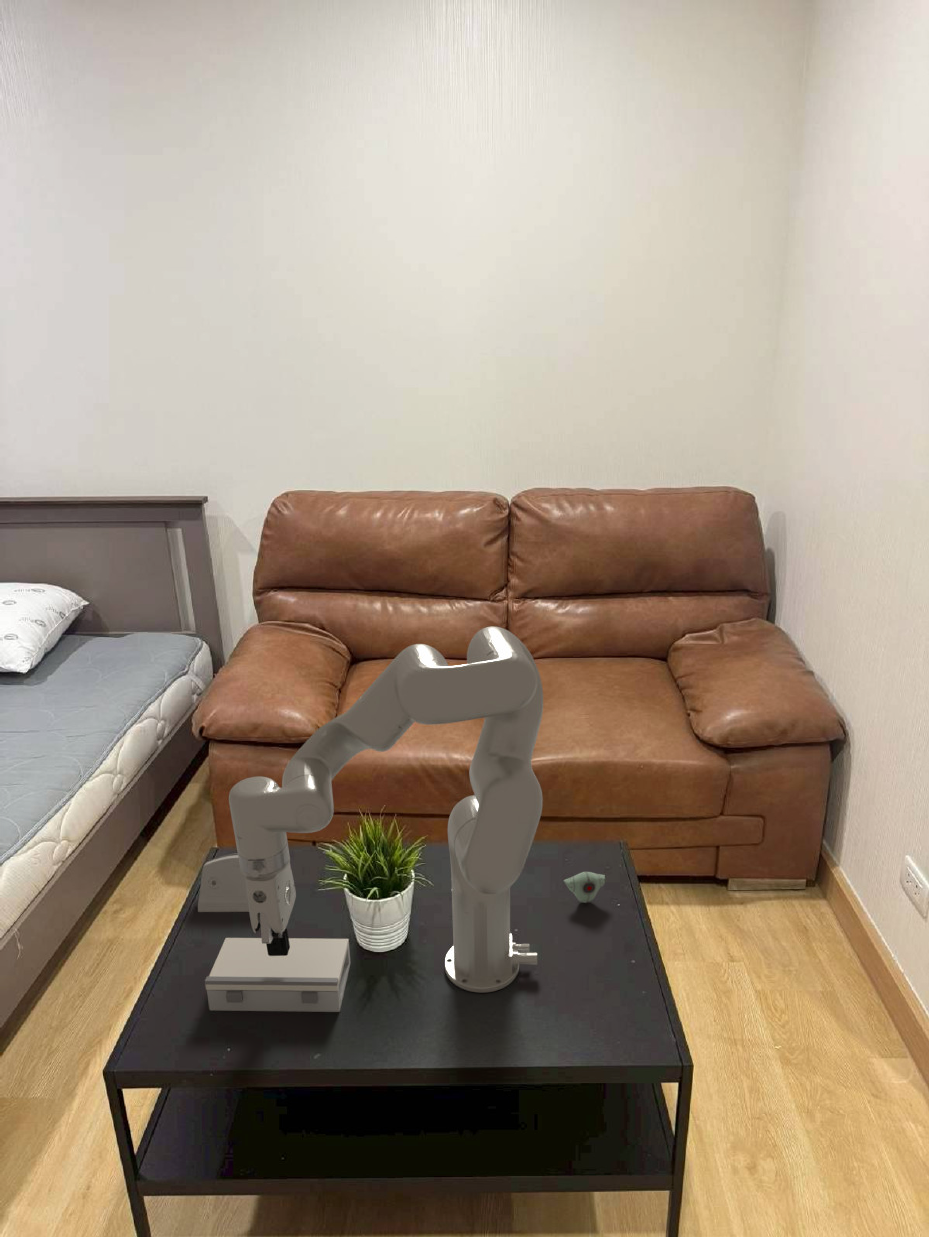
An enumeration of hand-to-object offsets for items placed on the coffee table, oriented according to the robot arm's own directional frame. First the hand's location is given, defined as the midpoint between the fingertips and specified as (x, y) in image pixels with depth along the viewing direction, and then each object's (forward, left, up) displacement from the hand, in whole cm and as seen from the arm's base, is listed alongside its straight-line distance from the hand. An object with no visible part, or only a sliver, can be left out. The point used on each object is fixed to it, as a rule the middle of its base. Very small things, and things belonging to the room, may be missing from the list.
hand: (279, 952), depth 143 cm
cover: (+1, -2, -5) cm, 5 cm away
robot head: (-51, -24, -9) cm, 57 cm away
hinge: (+13, -25, -9) cm, 30 cm away
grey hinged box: (+1, -2, -9) cm, 9 cm away
